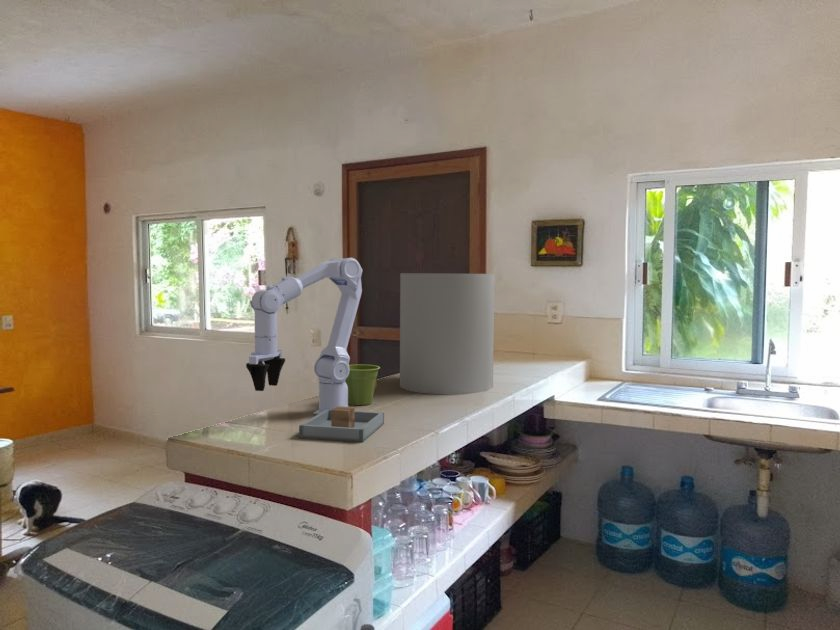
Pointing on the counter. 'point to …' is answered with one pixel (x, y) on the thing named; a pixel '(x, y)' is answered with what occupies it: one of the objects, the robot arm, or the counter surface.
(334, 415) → the block
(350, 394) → the plant pot
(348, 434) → the bin
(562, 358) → the counter surface
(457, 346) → the cylinder container
